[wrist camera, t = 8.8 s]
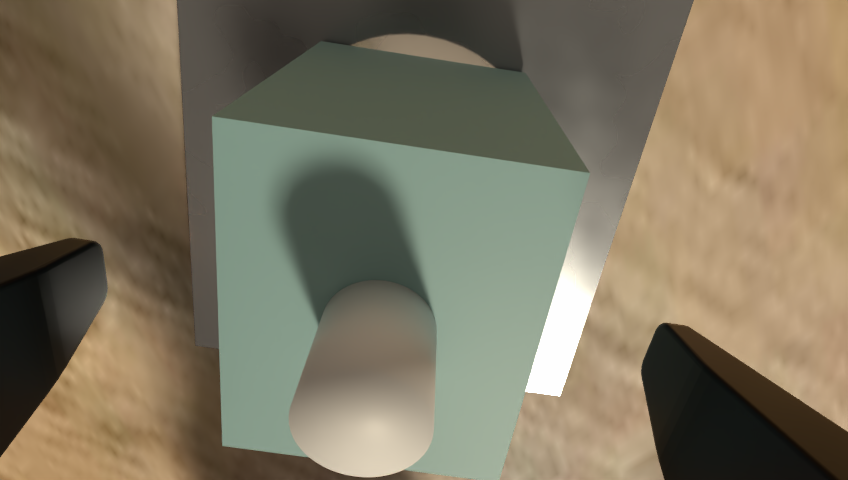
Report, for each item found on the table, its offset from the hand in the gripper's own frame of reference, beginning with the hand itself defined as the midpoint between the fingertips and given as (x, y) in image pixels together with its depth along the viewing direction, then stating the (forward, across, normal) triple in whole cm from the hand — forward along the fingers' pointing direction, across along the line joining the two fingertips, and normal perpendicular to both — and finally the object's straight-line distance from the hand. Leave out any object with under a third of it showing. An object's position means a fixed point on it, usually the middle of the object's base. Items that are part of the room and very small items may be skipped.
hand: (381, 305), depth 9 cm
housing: (+7, 0, 0) cm, 7 cm away
